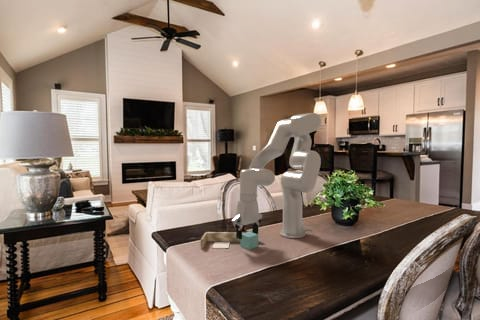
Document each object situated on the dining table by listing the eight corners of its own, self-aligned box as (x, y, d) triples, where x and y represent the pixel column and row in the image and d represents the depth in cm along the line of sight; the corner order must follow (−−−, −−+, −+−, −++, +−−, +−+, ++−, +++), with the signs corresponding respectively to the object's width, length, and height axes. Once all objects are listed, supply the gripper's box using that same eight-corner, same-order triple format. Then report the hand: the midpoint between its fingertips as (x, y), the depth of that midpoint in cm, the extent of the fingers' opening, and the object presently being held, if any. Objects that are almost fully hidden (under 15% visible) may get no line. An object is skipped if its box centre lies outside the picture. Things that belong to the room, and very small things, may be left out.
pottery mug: (247, 235, 137) (240, 222, 135) (231, 242, 139) (223, 229, 137) (248, 222, 149) (241, 210, 147) (233, 229, 151) (225, 217, 148)
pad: (229, 242, 126) (229, 242, 126) (228, 248, 119) (228, 247, 119) (214, 242, 126) (214, 241, 126) (212, 248, 119) (212, 247, 119)
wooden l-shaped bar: (258, 241, 128) (258, 232, 127) (258, 249, 118) (258, 240, 117) (205, 240, 129) (205, 232, 129) (200, 248, 119) (200, 239, 119)
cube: (249, 243, 125) (249, 231, 125) (258, 246, 121) (257, 234, 121) (240, 246, 122) (240, 234, 121) (248, 249, 117) (248, 237, 117)
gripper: (256, 194, 128) (255, 230, 129) (227, 198, 117) (226, 238, 118) (268, 196, 123) (267, 234, 123) (238, 201, 111) (238, 242, 112)
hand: (247, 236), depth 120 cm, fingers open, 9 cm apart
